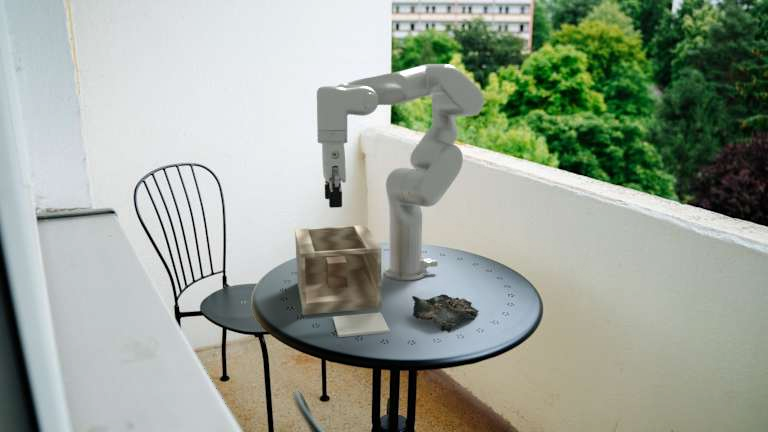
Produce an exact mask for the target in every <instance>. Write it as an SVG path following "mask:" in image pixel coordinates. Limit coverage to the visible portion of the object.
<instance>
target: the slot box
mask: <svg viewBox="0 0 768 432" xmlns="http://www.w3.org/2000/svg"><path fill="white" fill-rule="evenodd" d="M294 232H295V233H294V236H295V239H294V240H295V259H296V261H295V262H296V277H297V278H296V279H297V288H298V294H299V299H300V305H301V311H302V315H303V316H304V315H307V316H308V315H315V314H316V315H317V314H318V315H319V314H326V313H327V314H328V313H338V312H339V313H340V312H350V311H359V310H360V311H361V310H363V311H364V310H371V309H372V310H373V309H381V308H382V299H383V298H382V295H383V294H382V247H381V246H380V244H379V243H378V241H377V240H376V238H375V237H374V235H373V234H372V232H371V230H370V229H369V228H368V226H367V225H366V224H363V225H362V224H360V225H359V224H358V225H344V226H343V225H342V226H328V227H324V226H323V227H311V228H295V229H294ZM340 256H344V257H345V259H346V261H347V286H348V287H342V288H330V289H329V288H328V284H327V275H326V257H340Z"/></svg>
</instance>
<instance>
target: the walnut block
mask: <svg viewBox="0 0 768 432" xmlns="http://www.w3.org/2000/svg"><path fill="white" fill-rule="evenodd" d="M326 275H327V284H328V288H329V289H330V288H342V287H348V286H347V261H346V259H345V257H344V256H340V257H326Z"/></svg>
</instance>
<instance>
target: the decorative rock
mask: <svg viewBox="0 0 768 432" xmlns="http://www.w3.org/2000/svg"><path fill="white" fill-rule="evenodd" d="M411 297H412V300H413V301H414V303H413V311H412V316H413V317H414V318H416V319H419V320H422V321H427V322H428V321H431V320H433V322H434V323H435V324H437V325H438V326H439V328H440V329H441V331H442V332H447V333H450V332H451V331H452V329H453V327H454V326H455V325H459V324H460V322H461V321H462V320H465V319H473V320H475V319H476V318H478V317H477V315H478V312H479V310H478V309H477V308H475V307H473V306H472V304H473V302H471V301H468V300H467V299H465V298H459V297H451V296H449V295H447V294H440V295H437V296H433V297H431V298H427V299H424V298H423V299H422V298H420V297H419V296H415V295H413V296H411Z"/></svg>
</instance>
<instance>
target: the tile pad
mask: <svg viewBox="0 0 768 432" xmlns="http://www.w3.org/2000/svg"><path fill="white" fill-rule="evenodd" d="M332 321H333V324H334V328H335V330H336V334H337V337H338V338H344V337H353V336H354V337H356V336H367V335H374V334H375V335H377V334H386V333H390V328H389V326H388V323H387V322H386V320H385V318H384V316H383V314H382V312H372V313H371V312H370V313H360V314H349V315H348V314H347V315H338V316H332Z"/></svg>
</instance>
